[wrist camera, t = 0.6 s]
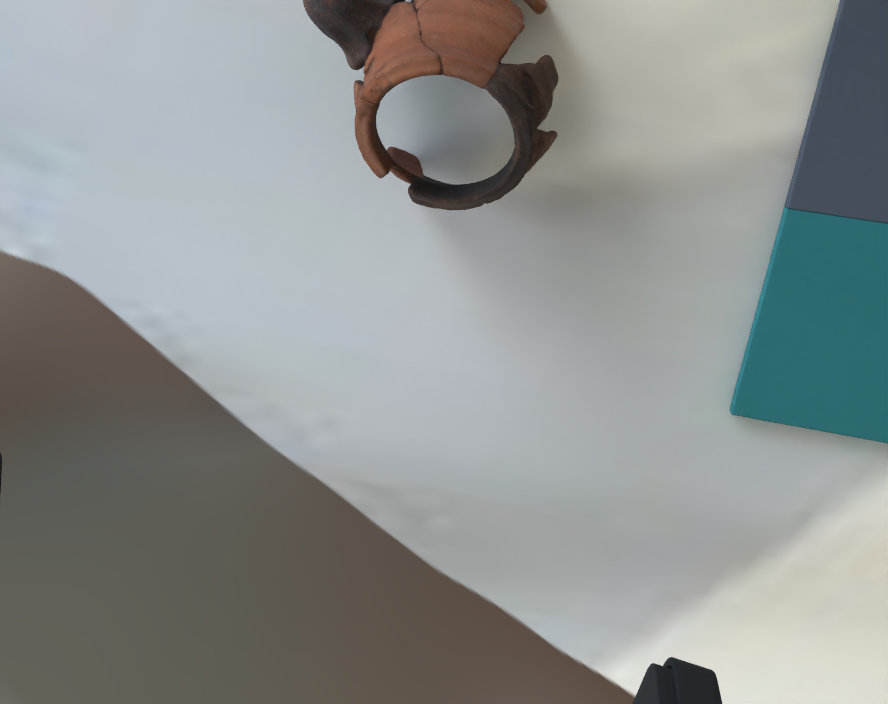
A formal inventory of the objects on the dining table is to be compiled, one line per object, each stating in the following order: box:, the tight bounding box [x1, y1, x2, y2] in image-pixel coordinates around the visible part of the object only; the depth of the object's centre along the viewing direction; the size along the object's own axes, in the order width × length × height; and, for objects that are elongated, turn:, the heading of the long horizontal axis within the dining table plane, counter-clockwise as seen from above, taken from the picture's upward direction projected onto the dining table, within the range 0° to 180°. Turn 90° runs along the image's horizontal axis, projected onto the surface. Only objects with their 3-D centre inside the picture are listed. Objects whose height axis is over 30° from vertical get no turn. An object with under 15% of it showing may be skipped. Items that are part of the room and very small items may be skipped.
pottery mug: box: [303, 0, 558, 210], centre depth 34 cm, size 12×10×8 cm
